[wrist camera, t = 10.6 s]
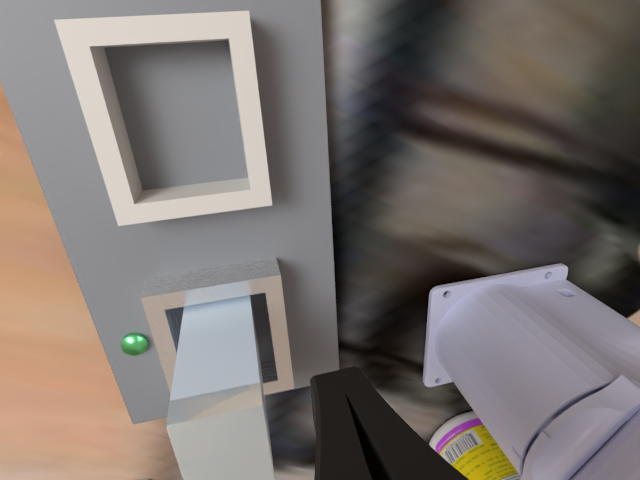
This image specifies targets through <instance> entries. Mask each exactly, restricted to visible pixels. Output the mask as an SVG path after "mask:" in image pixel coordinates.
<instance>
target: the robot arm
mask: <svg viewBox="0 0 640 480" xmlns="http://www.w3.org/2000/svg"><path fill="white" fill-rule="evenodd" d="M567 274H568V267H567V266H565V265H564V264H562V263H559V264H554V265H548V266H543V267H537V268H532V269H526V270H521V271H516V272H510V273H505V274H499V275H494V276H488V277H483V278H477V279H472V280H467V281H461V282H456V283H450V284H445V285H439V286H436V287H434V288H432V289H431V291H430V293H429V302H428V316H427V329H426V343H425V356H424V370H423V382H424V384H425V385H426V386H427V387H433V386H438V385H442V384H446V383H450V382H454V384H455V385H456V386H457V388H458V389H459V391H460V392H461V393H462V395H463V396H464V398H465V399H466V400H467V402H468V403H469V405H470V406H471V408H472V409H473V410H474V412H475V413H476V415H477V416H478V417H479V419H480V420H481V422H482V423H483V424H484V426H485V427H486V429H487V430H488V431H489V433H490V434H491V436H492V437H493V438H494V440H495V441H496V443H497V444H498V445H499V447H500V448H501V450H502V451H503V453H504V454H505V455H506V457H507V458H508V460H509V461H510V462H511V464H512V465H513V467H514V468H515V469H516V471H517V472H518V474H519V475H520V476H521V478H520V480H640V327H639V326H637V325H636V324H634V323H633V322H631V321H630V320H628V319H626V318H625V317H623V316H622V315H620V314H619V313H617V312H616V311H614V310H613V309H611V308H609V307H608V306H606V305H605V304H603V303H602V302H600V301H599V300H597V299H596V298H594V297H592V296H591V295H589V294H588V293H586V292H585V291H583V290H582V289H580V288H579V287H577V286H576V285H574V284H572V283H571V282H569V281H568V280H566V278H567ZM446 291H447V293H446V294H444V293H445V292H446ZM443 294H444V295H443ZM310 387H311V398H312V408H313V419H314V426H315V431H316V463H315V480H469V479H468V478H467V477H465V476H464V475H463V474H462V473H460V472H459V471H458V470H457V469H456V468H454V467H453V466H452V465H451V464H450V463H448V462H447V461H446V460H445V459H444V458H443V457H442V456H440V455H439V454H438V453H437V452H436V451H435V450H434V449H433V448H432V447H431V446H430V445H428V444H427V443H426V442H425V441H424V440H423V439H422V438H421V437H420V436H419V435H418V434H417V433H416V432H415V431H414V430H413V429H412V428H411V427H410V426H409V425H408V424H407V423H406V422H405V421H404V420H403V419H402V418H401V417H400V416H399V415H398V414H397V413H396V412H395V411H394V410H393V409H392V408H391V407H390V405H389V404H388V403H387V402H386V401H385V400H384V399H383V398H382V397H381V395H380V394H379V393H378V392H377V391H376V390H375V389H374V387H373V386H372V385H371V384H370V383H369V381H368V380H367V379H366V378H365V376H364V375H363V374H362V373H361V371H360V370H359V369H358V368H357V367H355V366H354V367H350V368H345V369H341V370H337V371H332V372H328V373H323V374H319V375H315V376H313V377H312V378H311V379H310Z"/></svg>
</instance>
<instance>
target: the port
mask: <svg viewBox="0 0 640 480" xmlns="http://www.w3.org/2000/svg"><path fill="white" fill-rule="evenodd" d="M260 293H265V298H266V305H267V312H268V319H269V325H270V332H271V339H272V346H273V353H274V357H272V358H267V359H262V360H260V364H261V372H262V380H263V388H264V395H266V394H270V393H275V392H279V391H284V390H289V389H293V388H294V381H293V372H292V364H291V356H290V347H289V339H288V331H287V322H286V314H285V306H284V297H283V289H282V281H281V274H280V270H279V266H278V263H277V259H276V257H273V258H267V259H261V260H254V261H248V262H241V263H235V264H229V265H222V266H216V267H210V268H203V269H197V270H191V271H184V272H178V273H172V274H165V275H159V276H153V277H148V278H147V281H146V284H145V287H144V290H143V293H142V296H141V301H142V304H143V307H144V310H145V313H146V317H147V320H148V323H149V326H150V330H151V333H152V336H153V339H154V342H155V346H156V349H157V352H158V355H159V358H160V362H161V365H162V368H163V371H164V374H165V378H166V381H167V384H168V387H169V390H170V394H171V389H172V382H173V376H174V369H175V362H176V356H177V349H178V343H179V336H180V327H179V323H178V319H177V316H176V312H175V308H178V307H184V306H190V305H196V304H202V303H207V302H213V301H219V300H225V299H231V298H236V297H242V296H248V295H254V294H260ZM147 345H148V339H147V338H146V336H145V335H143V334H141V333H129V334H127V335H126V336H125V337H124V338H123V340H122V343H121V349H122V351H123V352H124V353H126V354H128V355H132V356H136V355H140V354H142V353H144V352H145V351H146V349H147Z"/></svg>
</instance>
